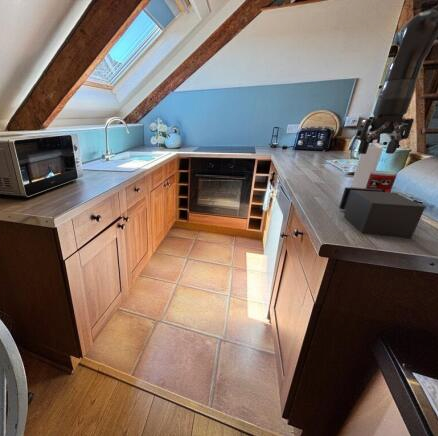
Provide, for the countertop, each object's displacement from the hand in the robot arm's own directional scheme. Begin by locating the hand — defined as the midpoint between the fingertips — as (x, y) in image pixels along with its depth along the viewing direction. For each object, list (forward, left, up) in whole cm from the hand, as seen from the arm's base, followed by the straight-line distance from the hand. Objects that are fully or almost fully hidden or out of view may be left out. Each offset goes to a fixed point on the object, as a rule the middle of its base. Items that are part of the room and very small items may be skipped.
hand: (375, 153), depth 78 cm
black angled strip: (-1, +2, -20) cm, 20 cm away
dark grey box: (-1, +11, -21) cm, 24 cm away
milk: (-17, -42, -21) cm, 50 cm away
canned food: (-15, -23, -21) cm, 34 cm away
